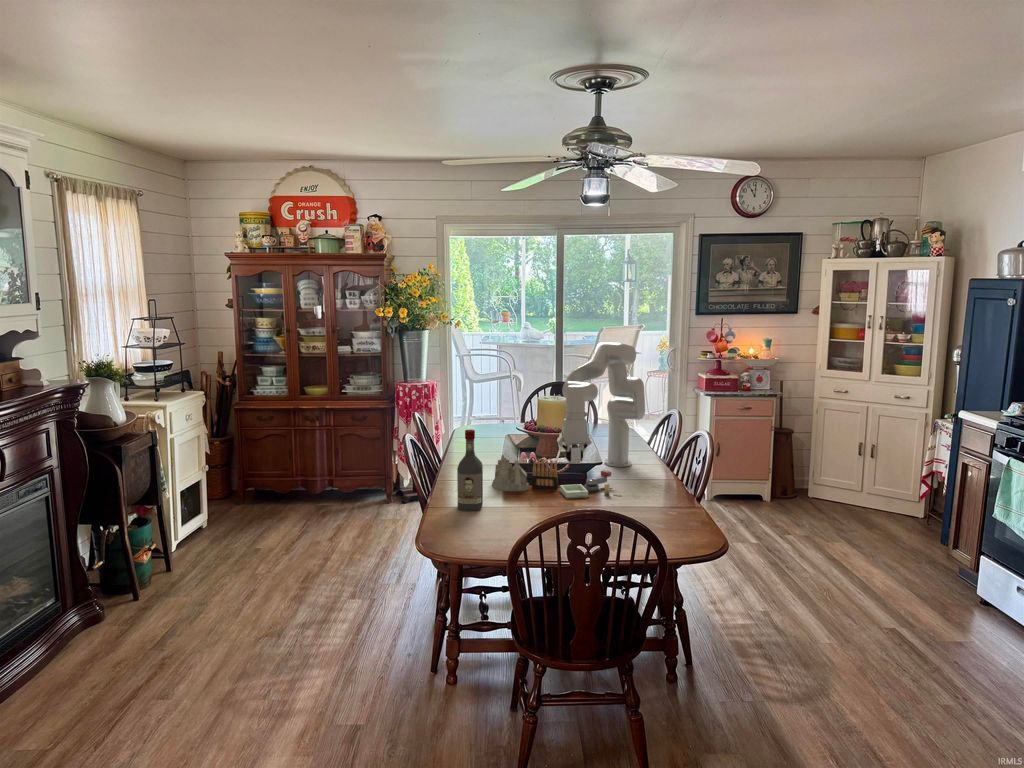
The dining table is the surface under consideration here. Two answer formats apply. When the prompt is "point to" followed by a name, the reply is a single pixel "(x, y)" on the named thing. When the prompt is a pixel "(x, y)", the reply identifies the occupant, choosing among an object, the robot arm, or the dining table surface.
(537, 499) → the dining table surface
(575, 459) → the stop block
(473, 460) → the liquor
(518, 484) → the grey castle model
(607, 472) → the crank
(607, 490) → the crank pedestal
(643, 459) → the dining table surface
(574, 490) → the tray
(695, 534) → the dining table surface
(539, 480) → the ammunition clip
